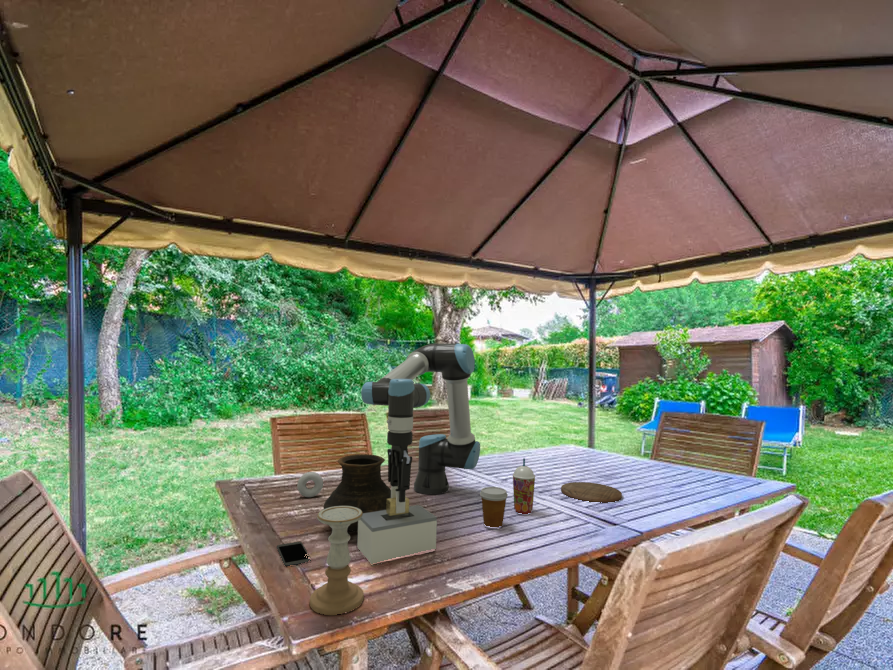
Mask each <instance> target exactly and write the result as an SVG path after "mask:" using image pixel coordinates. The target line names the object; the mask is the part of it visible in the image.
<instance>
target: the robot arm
mask: <svg viewBox="0 0 893 670" xmlns="http://www.w3.org/2000/svg"><path fill="white" fill-rule="evenodd" d="M475 362H476V360H475V355H474V352H473V349H472V348H471V347H470V345H469V344H466V343H460V342H459V343H457V342H456V343H429V344H426V345H423V346H420V347H419V348H417V349H415V350H413V351H411V352H410V353H409V354H408V355H407V357H406V358H405V360H404V361H403V362H402V363H399V365H398V366H396V367H394V368H393V369H392V370H391V371H389V372H388V373H386V374H385V375H384V376H383V377H381V378H380V379H379V380H377V381H372V380H371V381H366V382H365V383H364V384H362V387H361V391H360V395H361V400H362V402H363V403H364V404H366V405H373V406H387V407H388V409H387V410H388V411H387V412H388V413H387V420H386V423H387V430H388V431H387V437H386V444H387V445H390V446H391V448H388V449H387V450H386V451H387V452H386V453H387V482H388V483H389V485H390V489H391V498H396V514H397V513H404V512H405V497H407V496H406V495H407V493H406V491H407V490H408V491H409V490H410V487H411V473H412V462H413V457H412V456H409V448H408V446H410V445H412V443H413V429H414V409H415V408H421V407H423V406H425V405H427V404H428V402H429V401H430V398H431V392H430V389H429V387H428V386H427V385H426V384H423V383H416V382H414V379H416V378H417V377H418V376H421V375H424V374H425V373H432V372H433V373H441V378H442V379H443V380H444V382H445V383H446V384H445V385H446V395H447V406H448V409H447V410H448V418H449V419H448V420H449V430H450V432H449V433H450V434H449V435H447V436H446V434H443V433H440V434H439V433H437V434H428V435H424V436H422V437H420V439H419V442H418V466H417V467H418V468H417V469H418V471H417V474H416V477H415V480H414V483H413V491H415V492H416V493H418V494H424V495H440V494H441V495H442V494H445V493H447V492H449V490H450V488H449V487H450V484H449V481H448V477H447V474H446V473H447V472H446V468H454V469H463V470H474V469H475V468H476V467H477V465H478V464H479V459H480V455H481V442H479V441H478V440H476V437H475V434H474V433H473V432H472V429H471V428H472V427H471V414H470V403H469V402H470V400H469V386H468V380H469V379H470V377H471V374H473V372H474V371H475V365H476V363H475Z"/></svg>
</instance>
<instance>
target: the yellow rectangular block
mask: <svg viewBox="0 0 893 670" xmlns="http://www.w3.org/2000/svg"><path fill="white" fill-rule="evenodd" d="M409 506H410V498H408V497H407V496H406V497H405V512H404V513H397V514H396V498H389V499H387V502H386V513H387V514H388V515H389V516H392V515H399V514H405V513H409Z"/></svg>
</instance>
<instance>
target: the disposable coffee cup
mask: <svg viewBox="0 0 893 670" xmlns="http://www.w3.org/2000/svg"><path fill="white" fill-rule="evenodd" d="M479 495H480V498H481V507H482V509H481V511H482V518H483V525H484V524H485V525H486V526H490V527H499V526H502V525H504V517H505V512H506V505H507V504H506V503H507V499H508V495H509V494H508V492H507V490H506V489H504V488H502V487H499V486H498V487H496V486H486V487H483V488H481V490H480V493H479ZM502 527H503V526H502Z"/></svg>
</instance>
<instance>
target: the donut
mask: <svg viewBox="0 0 893 670" xmlns="http://www.w3.org/2000/svg"><path fill="white" fill-rule="evenodd" d="M310 481H312V482H314V485H313V486H312V487H311V488H308V487H307V483H308V482H310ZM296 486H297V487H296V488H297V491H298V492H299V494H300V495H301V496H302V497H305V498H313V497H316V496H317V495H319V494H320V493H321V491H322V489H323V487H324V480H323V477H322V476H321V474H319V472H315V471H308V472H305V473H303V474H302V475H301V476H300V477H299V479H298V480H297V484H296Z"/></svg>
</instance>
